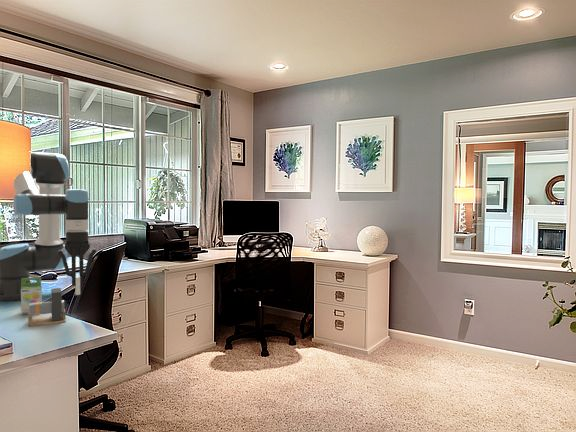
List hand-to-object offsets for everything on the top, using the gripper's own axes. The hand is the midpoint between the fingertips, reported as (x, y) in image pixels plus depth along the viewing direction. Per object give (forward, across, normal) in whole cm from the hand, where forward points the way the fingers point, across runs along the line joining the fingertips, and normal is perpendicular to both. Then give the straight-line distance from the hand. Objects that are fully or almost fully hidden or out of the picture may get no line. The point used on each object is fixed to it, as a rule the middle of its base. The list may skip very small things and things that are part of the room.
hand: (77, 294), depth 161 cm
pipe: (+6, -10, 0) cm, 12 cm away
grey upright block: (+9, -7, 0) cm, 11 cm away
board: (+9, -10, 0) cm, 13 cm away
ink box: (+9, -15, +16) cm, 24 cm away
